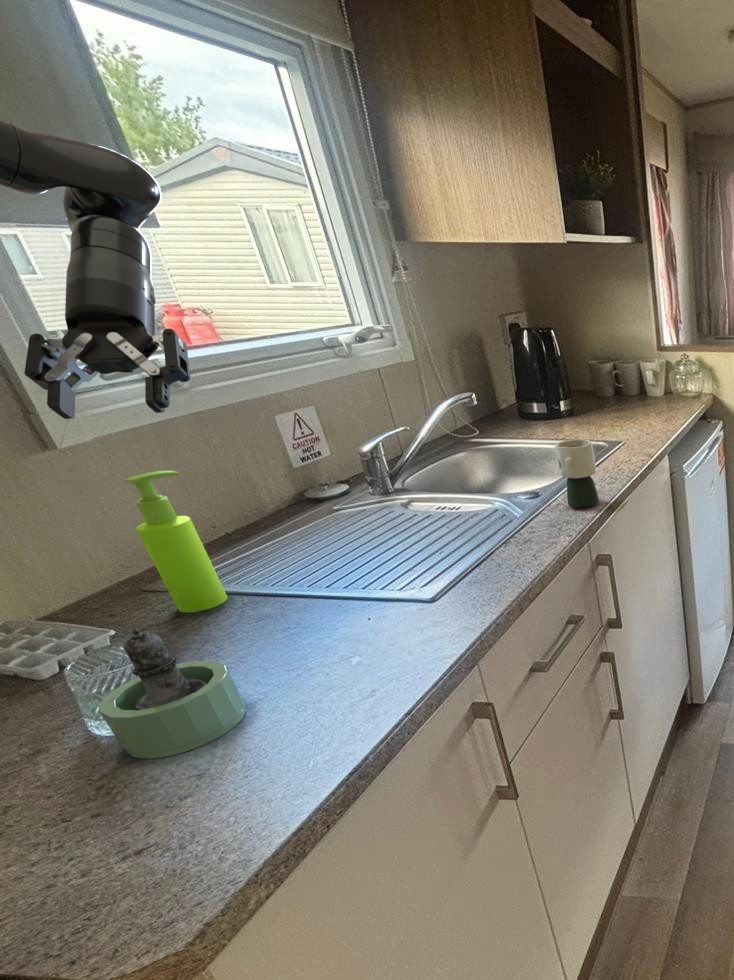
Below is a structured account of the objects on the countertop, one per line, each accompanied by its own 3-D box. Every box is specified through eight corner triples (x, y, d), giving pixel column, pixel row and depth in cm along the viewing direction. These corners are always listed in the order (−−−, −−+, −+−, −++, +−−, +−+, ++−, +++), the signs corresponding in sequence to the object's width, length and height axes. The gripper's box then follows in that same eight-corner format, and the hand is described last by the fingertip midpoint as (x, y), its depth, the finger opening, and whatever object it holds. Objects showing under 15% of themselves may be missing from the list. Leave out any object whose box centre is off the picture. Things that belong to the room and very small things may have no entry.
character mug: (575, 496, 142) (564, 436, 136) (608, 496, 142) (598, 436, 136) (558, 514, 132) (546, 450, 126) (593, 514, 132) (583, 450, 126)
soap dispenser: (242, 597, 101) (184, 471, 92) (188, 616, 96) (120, 484, 87) (225, 588, 104) (166, 465, 95) (171, 607, 99) (103, 478, 89)
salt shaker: (137, 733, 71) (78, 639, 66) (192, 701, 76) (143, 611, 71) (178, 741, 70) (123, 646, 64) (232, 708, 75) (185, 617, 69)
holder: (105, 769, 67) (77, 727, 65) (152, 711, 76) (129, 671, 73) (227, 744, 71) (204, 703, 68) (259, 691, 79) (240, 653, 77)
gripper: (9, 276, 75) (2, 397, 71) (163, 273, 79) (164, 387, 75) (61, 322, 82) (57, 435, 78) (200, 317, 86) (203, 424, 82)
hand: (110, 411), depth 76 cm, fingers open, 8 cm apart
